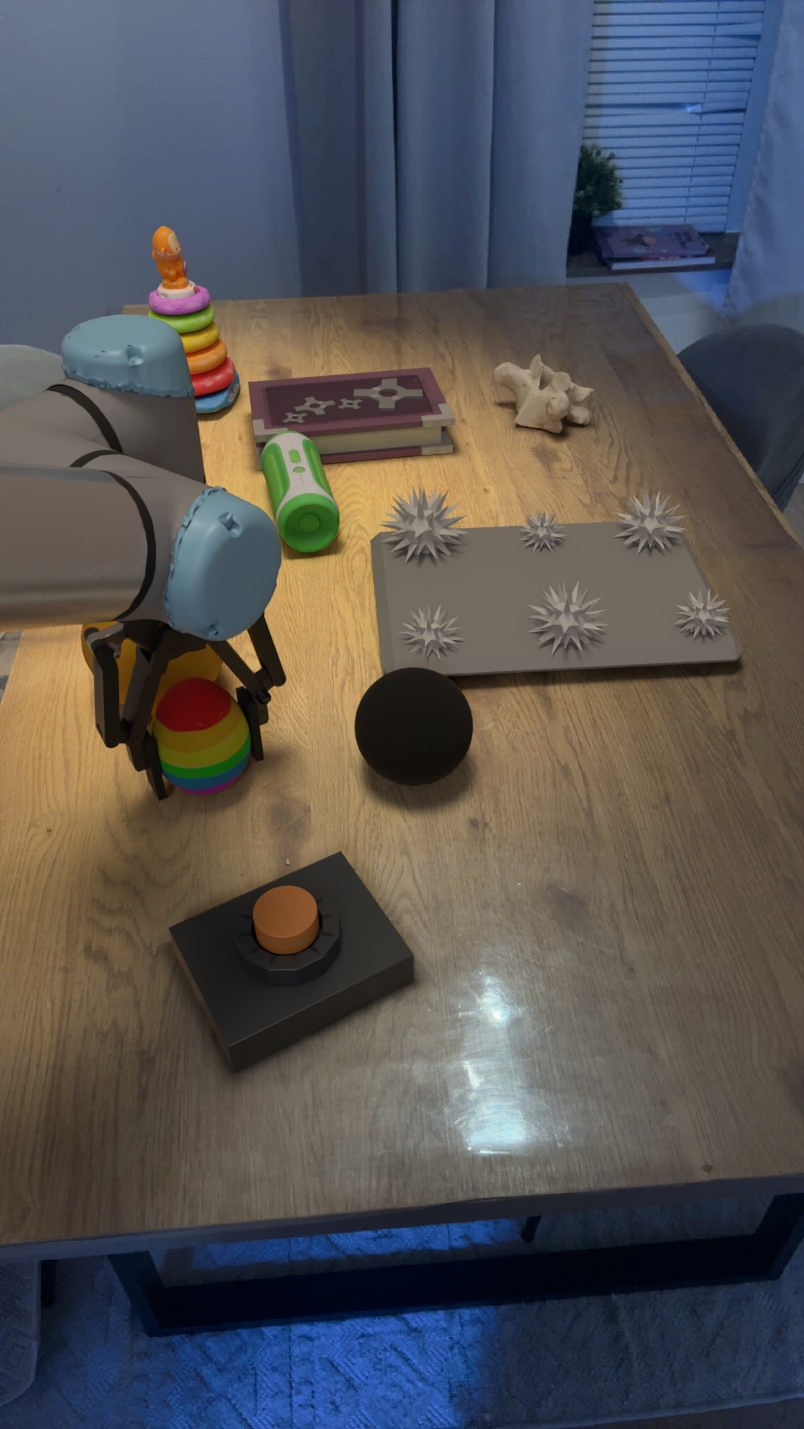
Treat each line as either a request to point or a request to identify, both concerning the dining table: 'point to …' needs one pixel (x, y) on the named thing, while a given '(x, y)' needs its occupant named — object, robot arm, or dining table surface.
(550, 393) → the decorative object
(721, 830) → the dining table surface
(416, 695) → the decorative ball
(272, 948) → the orange button
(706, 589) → the decorative tray
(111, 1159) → the dining table surface
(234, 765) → the decorative egg
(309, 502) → the speaker
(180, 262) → the stacking toy
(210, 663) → the apple
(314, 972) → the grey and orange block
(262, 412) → the book
